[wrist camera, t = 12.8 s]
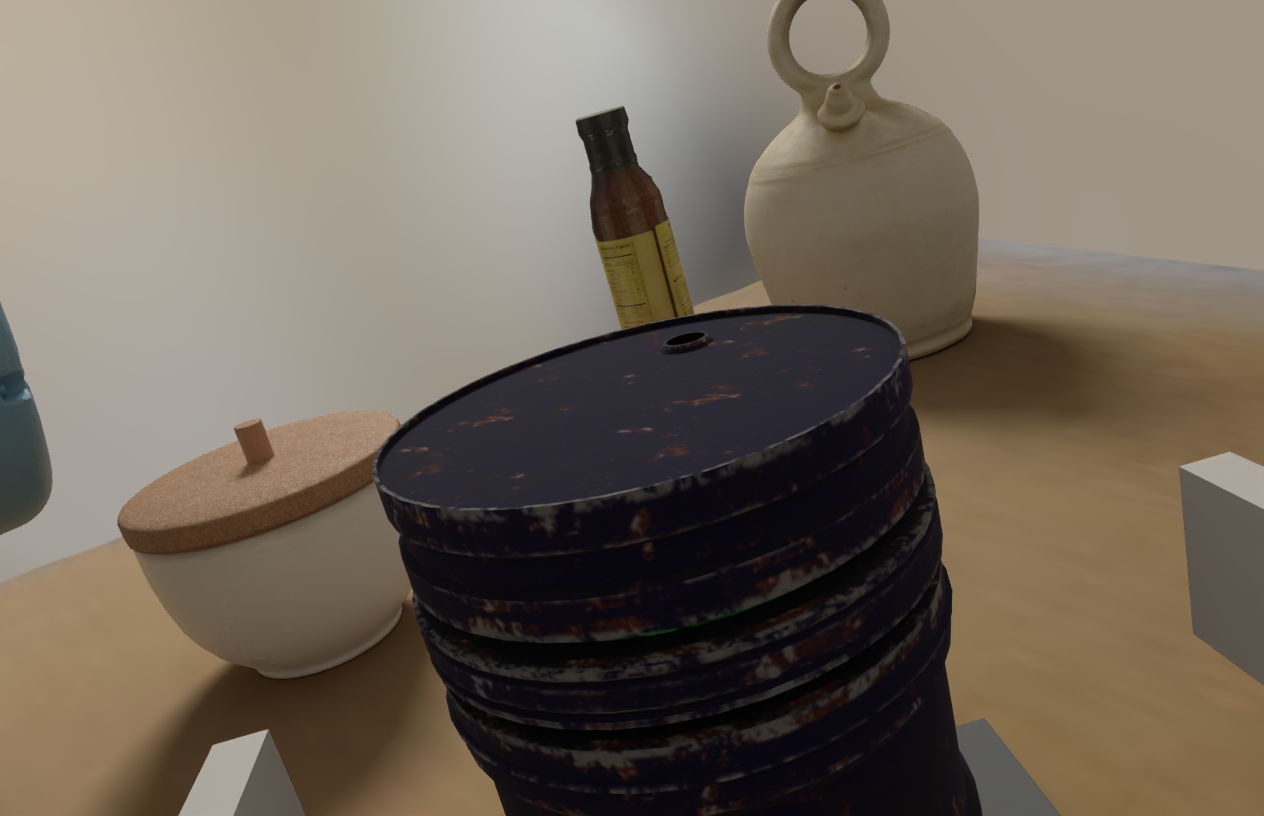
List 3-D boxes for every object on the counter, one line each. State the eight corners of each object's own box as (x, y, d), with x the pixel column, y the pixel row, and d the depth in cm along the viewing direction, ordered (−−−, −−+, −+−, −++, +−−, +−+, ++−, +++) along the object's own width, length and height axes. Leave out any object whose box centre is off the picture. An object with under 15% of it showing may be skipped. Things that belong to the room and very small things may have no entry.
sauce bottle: (675, 333, 86) (620, 105, 80) (715, 339, 80) (659, 96, 74) (613, 358, 83) (551, 124, 77) (649, 366, 78) (586, 115, 72)
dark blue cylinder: (1009, 1327, 16) (851, 498, 11) (501, 1170, 20) (240, 528, 15) (1028, 855, 24) (943, 276, 20) (668, 817, 28) (531, 335, 24)
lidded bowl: (467, 652, 42) (386, 416, 38) (169, 757, 40) (56, 517, 36) (448, 543, 53) (385, 355, 50) (218, 620, 51) (136, 429, 48)
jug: (811, 319, 79) (748, -2, 71) (1011, 297, 71) (964, -67, 63) (741, 387, 67) (656, 8, 59) (974, 370, 59) (909, -71, 51)
